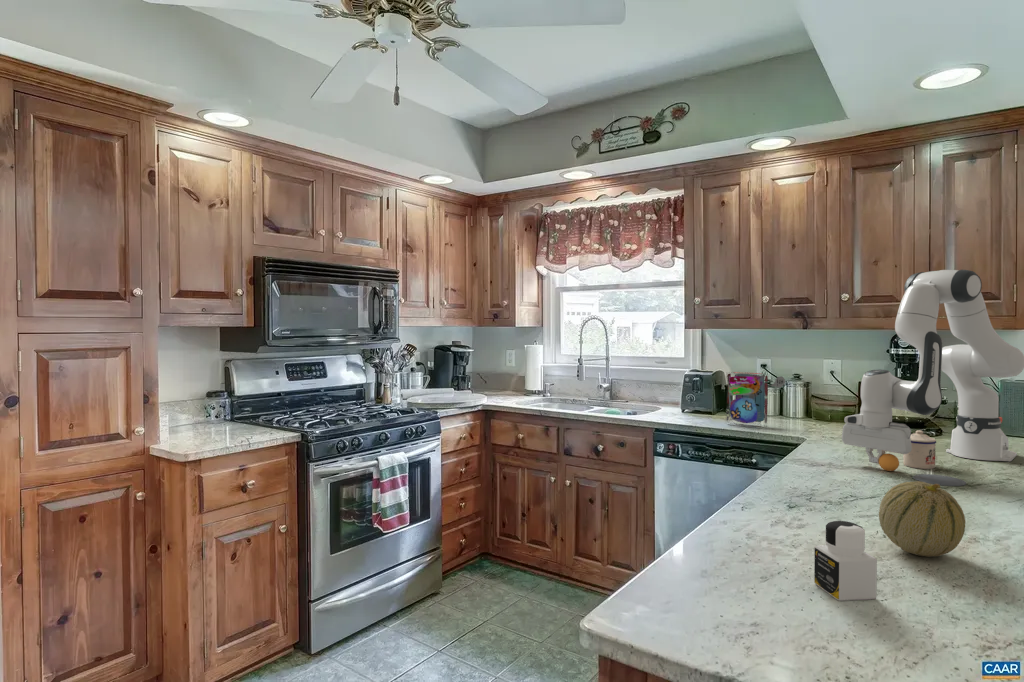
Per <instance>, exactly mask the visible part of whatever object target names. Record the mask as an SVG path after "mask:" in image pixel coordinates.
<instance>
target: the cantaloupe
mask: <svg viewBox="0 0 1024 682" xmlns="http://www.w3.org/2000/svg"><path fill="white" fill-rule="evenodd" d="M881 499H882V500H881V502H880V505H879V510H878V520H879V525H880V528H881V530H882V532H883V533H884V535H885V536H886V537H888V539H889V540H890V541H891V543H893V544H894V545H895V546H897V547H898V548H900V549H901V550H902V551H904V552H906V553H910V554H913V555H915V556H920V557H927V558H929V557H940V556H943V555H946V554H949V553H951V552H952V551H954V550H955V549H956V548H957V547H958V545H959V544H960V543H961V541H962V539H963V538H964V535H965V530H966V524H967V523H966V516H965V513H964V510H963V509H962V507H961V505H960V504H959V502H958V501H957V500H956V499H955V497H954V496H953V495H952V494H950V493H949V492H948V490H945V489H943V488H942V487H941V485H939V484H928V483H925V482H920V481H917V480H915V481H905V482H901V483H898V484H896V485H894V486H892V487H891V488H890V489H888V491H887V492H886V493H885V494H884V496H883V497H882V498H881Z"/></svg>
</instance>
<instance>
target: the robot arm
mask: <svg viewBox="0 0 1024 682" xmlns="http://www.w3.org/2000/svg"><path fill="white" fill-rule="evenodd" d="M982 286H983V283H982V279H981V277H980V276H979V275H978V274H977V273H976V272H975V271H973V270H970V269H968V270H967V269H959V270H958V269H941V270H932V271H926V272H925V271H921V272H916V273H913V274H911V275H910V276H909V277H908V278H907V279H906V280H905V283H904V288H903V289H904V290H903V291H904V294H903V296H902V298H901V301H900V304H899V307H898V310H897V314H896V318H895V323H894V331H895V333H896V335H897V337H898V338H899V339H900V340H901V341H902V342H904V343H906V344H908V345H910V346H912V347H914V348H915V349H916V350H917V351H918V354H919V364H918V367H919V368H918V376H917V377H918V378H917V380H916V381H912V380H905V379H902V378H899V377H897V376H895V375H894V374H892V373H891V372H890V370H888V369H872V370H871V369H870V370H868V371H866V372H864V373H863V376H862V378H861V382H860V383H861V384H860V400H861V406H860V412H859V413H856V414H852V415H851V414H850V415H847V416H844V423H845V424H843V427H842V432H841V442H843V444H844V445H848V446H854V447H859V448H865V452H866V455H867V456H868V461H869V462H868V463H873V464H878V465H879V458H880V457H881V456H882V455H884V454H886V452H889V453H894V454H895V453H896V454H900V455H901V454H902V455H903V454H907V453H909V452H911V450H912V448H911V438H910V436H911V434H912V429H911V428H910V427H909V426H908V425H907V424H906V423H898V422H893V409H894V410H900V411H904V412H905V411H906V412H911V413H914V414H918V415H922V416H929V415H932V414H933V413H934V412H935V411H936V410H938V409H939V407H940V406H941V404H942V401H943V394H942V386H941V385H942V384H941V380H942V379H941V377H942V372H943V373H944V374H945V375H947V376H948V378H950V380H951V381H952V383H953V385H954V387H955V390H956V394H957V403H958V406H957V407H958V414H956V419H955V420H956V425H957V426H956V427H955V428H953V429H952V431H951V441H950V448H946V450H945V451H946V453H949V454H952V455H953V456H957V457H960V458H966V459H971V460H979V461H995V462H996V461H997V462H999V461H1000V462H1012V461H1014V459H1015V458H1017V456H1018V454H1017V451H1013V450H1009V444H1010V443H1009V437H1008V436H1007V435H1006V434H1005V433H1004V431H1003V430H1002V429H1001V428H1002V425H1001V424H1003V417H1002V416H999V403H1000V402H999V401H1000V400H999V399H1000V398H999V396H998V394H997V392H996V391H995V390H994V389H991V388H989V387H988V386H986V385H985V383H983V381H982V377H983V378H995V379H997V378H999V379H1001V378H1010V377H1011V378H1012V377H1017V376H1019V375H1020V374H1021V373H1022V372H1023V371H1024V353H1023V352H1022V350H1020V349H1019V348H1017V347H1015V346H1013V345H1011V344H1010V343H1008V342H1006V341H1005V340H1004V339H1003V338H1002V337H1001V336H1000V335H999V334H998V332H996V330H995V328H994V327H993V324H992V322H991V319H990V315H989V313H988V309H987V306H986V305H987V304H986V302H985V299H984V297H983V293H982V288H983V287H982ZM943 304H944V305H943ZM940 305H943V306H944V311H945V314H946V318H947V321H948V326H949V329H950V332H951V334H952V335H953V336H954V337H955V338H957V339H958V340H961V341H963V342H964V343H965V344H963V343H962V344H953V345H952V344H951V345H946V346H943V342H942V337H941V335H939V334H938V331H937V322H938V318H939V317H938V316H939V311H940V310H939V309H940ZM874 450H877V451H876V452H877V454H878V455H877V456H875V455H874V453H873V452H874Z"/></svg>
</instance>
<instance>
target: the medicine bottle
mask: <svg viewBox="0 0 1024 682" xmlns="http://www.w3.org/2000/svg"><path fill="white" fill-rule="evenodd" d="M865 540H866V530H865V529H864V528H863V527H862V526H860V525H858V524H857V523H854V522H851V521H847V520H846V521H845V520H833V521H830V522H827V524H825V544H821V545H819V544H818V545H815V546H814V566H813V568H814V570H813V571H814V573H813V576H814V578H813V579H814V585H816V586H818V587H819V588H820V589H821V590H823V591H825V592H826V593H827V594H829V595H830V596H831V597H833V598H834V599H835V600H836V601H838V602H842V601H844V602H845V601H846V602H847V601H861V600H863V601H864V600H876V599H877V598H878V597H877V595H878V591H877V589H878V587H877V586H878V577H877V576H878V559H877V558H876V557H875V556H873V555H871V554H869V553H868V552H865V551H866V550H865V549H866V547H865V546H866V544H865V542H866V541H865Z"/></svg>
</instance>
